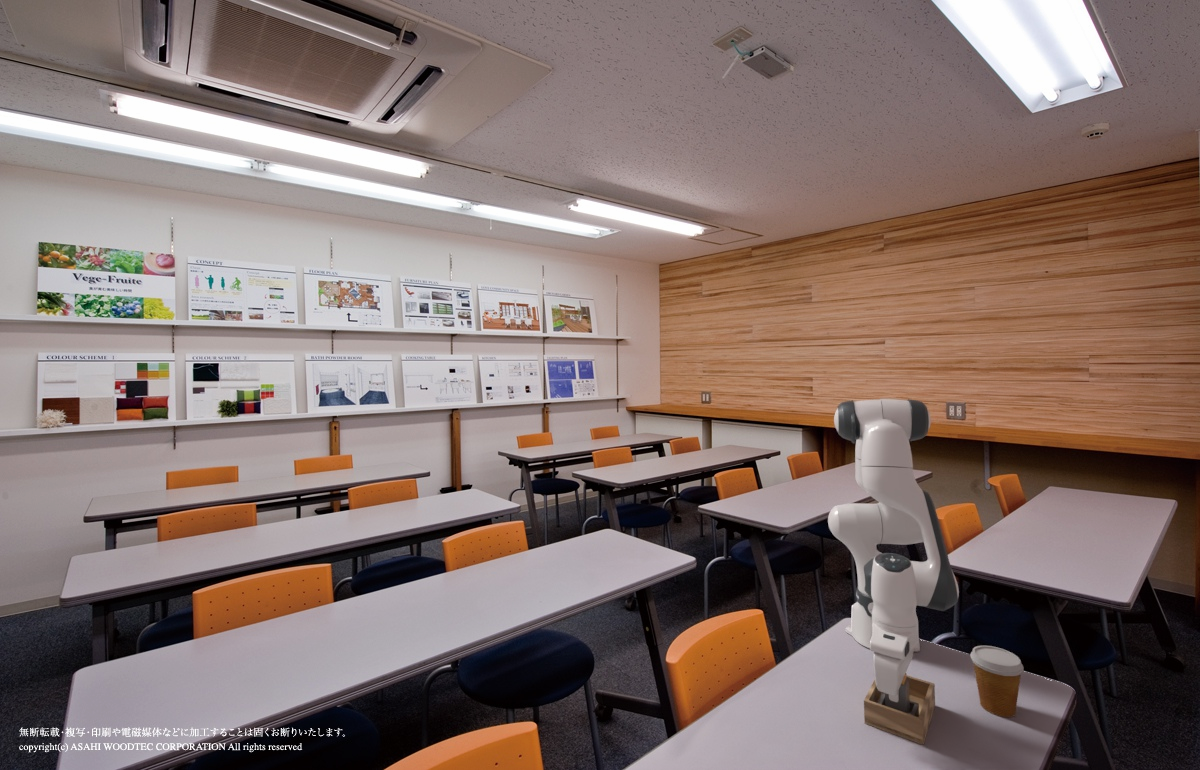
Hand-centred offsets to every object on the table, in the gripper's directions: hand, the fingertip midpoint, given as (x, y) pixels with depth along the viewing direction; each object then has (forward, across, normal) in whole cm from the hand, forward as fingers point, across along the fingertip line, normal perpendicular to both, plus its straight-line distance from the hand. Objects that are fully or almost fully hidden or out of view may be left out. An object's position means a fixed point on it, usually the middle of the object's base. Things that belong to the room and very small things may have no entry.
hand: (896, 693), depth 113 cm
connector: (+4, 0, 0) cm, 4 cm away
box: (+6, -3, 0) cm, 7 cm away
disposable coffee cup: (+6, -18, +16) cm, 25 cm away
